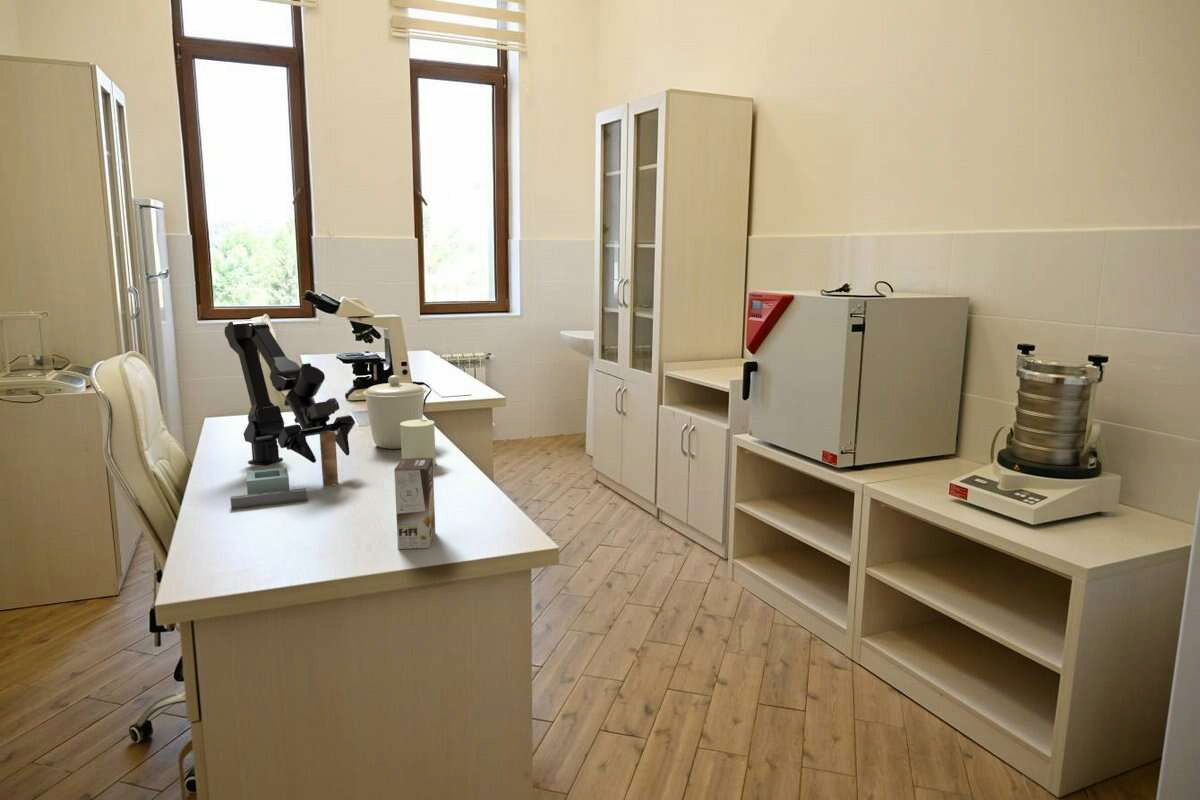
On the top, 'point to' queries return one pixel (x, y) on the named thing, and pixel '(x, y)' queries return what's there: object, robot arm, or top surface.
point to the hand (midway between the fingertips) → (331, 458)
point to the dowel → (328, 457)
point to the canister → (393, 409)
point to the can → (418, 439)
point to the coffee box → (415, 503)
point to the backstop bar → (268, 498)
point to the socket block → (267, 480)
